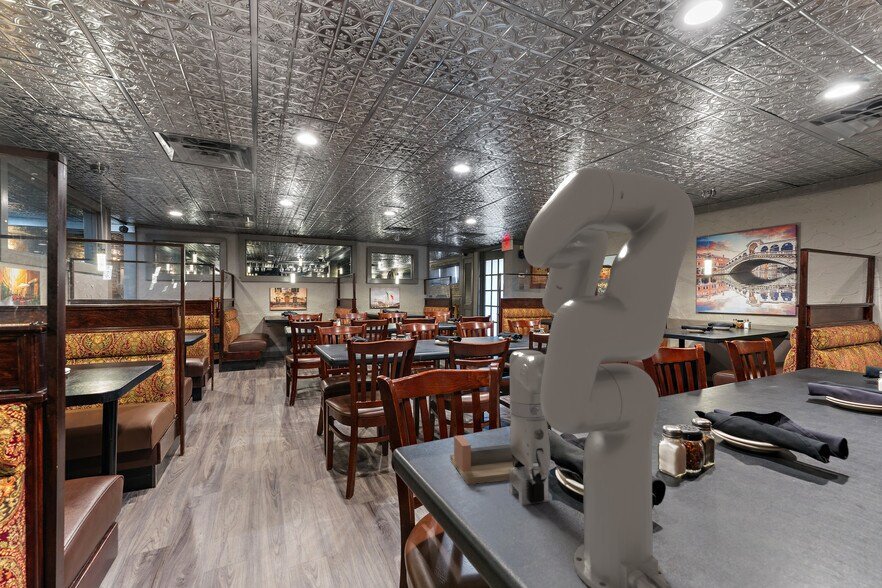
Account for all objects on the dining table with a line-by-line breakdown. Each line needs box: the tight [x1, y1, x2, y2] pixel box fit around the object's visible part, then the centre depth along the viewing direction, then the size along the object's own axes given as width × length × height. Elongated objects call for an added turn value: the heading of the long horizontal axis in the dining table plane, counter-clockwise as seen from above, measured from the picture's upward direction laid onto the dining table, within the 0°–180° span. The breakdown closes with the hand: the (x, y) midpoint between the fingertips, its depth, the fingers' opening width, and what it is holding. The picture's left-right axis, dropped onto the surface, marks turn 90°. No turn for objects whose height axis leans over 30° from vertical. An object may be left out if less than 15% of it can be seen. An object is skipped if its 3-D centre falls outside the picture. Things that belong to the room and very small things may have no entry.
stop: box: [453, 435, 472, 472], centre depth 94 cm, size 7×2×6 cm, turn 14°
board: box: [449, 454, 536, 486], centre depth 96 cm, size 14×18×2 cm
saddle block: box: [508, 464, 549, 506], centre depth 82 cm, size 6×6×5 cm
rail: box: [471, 443, 513, 466], centre depth 96 cm, size 2×15×4 cm, turn 105°
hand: (528, 492), depth 82 cm, fingers open, 6 cm apart
